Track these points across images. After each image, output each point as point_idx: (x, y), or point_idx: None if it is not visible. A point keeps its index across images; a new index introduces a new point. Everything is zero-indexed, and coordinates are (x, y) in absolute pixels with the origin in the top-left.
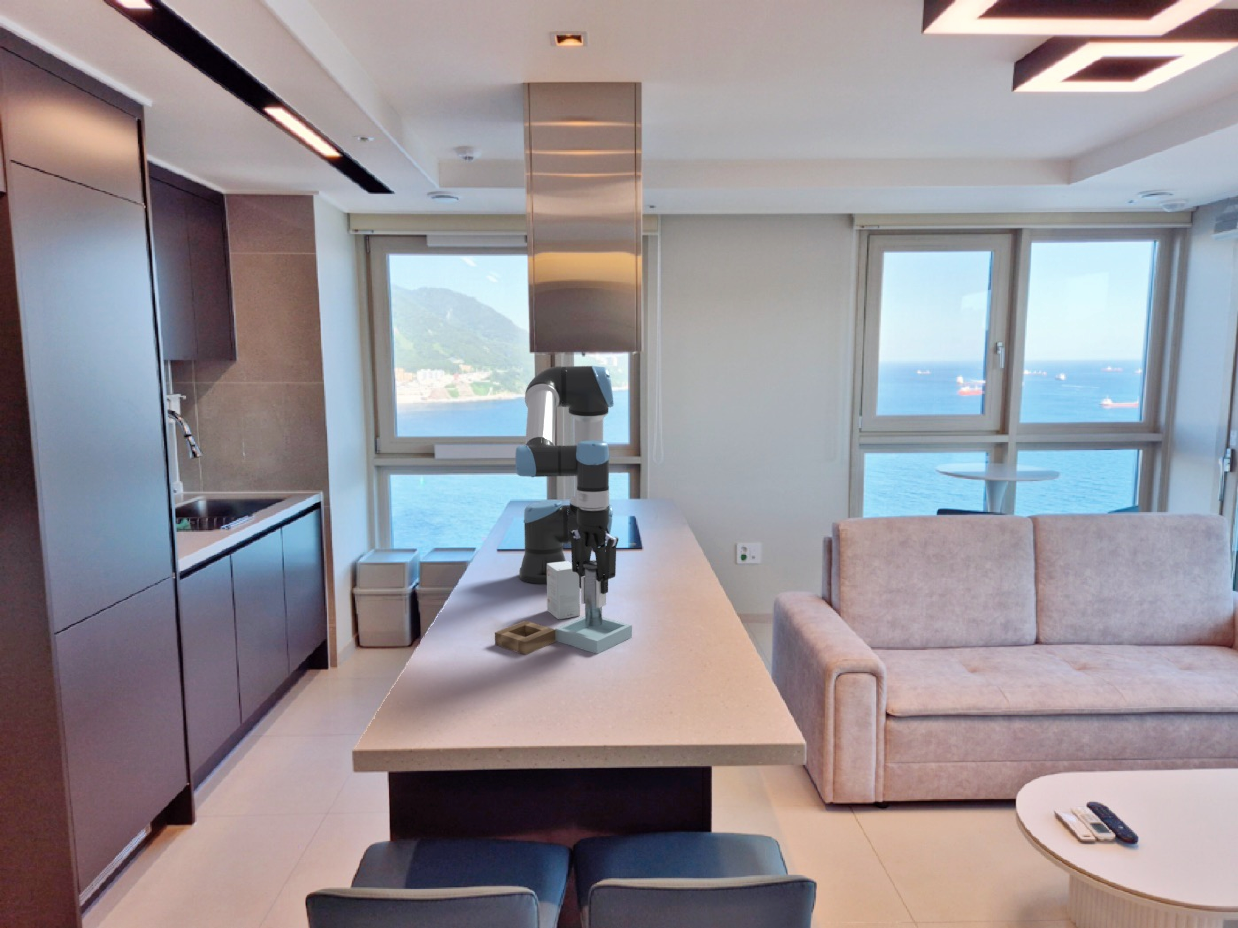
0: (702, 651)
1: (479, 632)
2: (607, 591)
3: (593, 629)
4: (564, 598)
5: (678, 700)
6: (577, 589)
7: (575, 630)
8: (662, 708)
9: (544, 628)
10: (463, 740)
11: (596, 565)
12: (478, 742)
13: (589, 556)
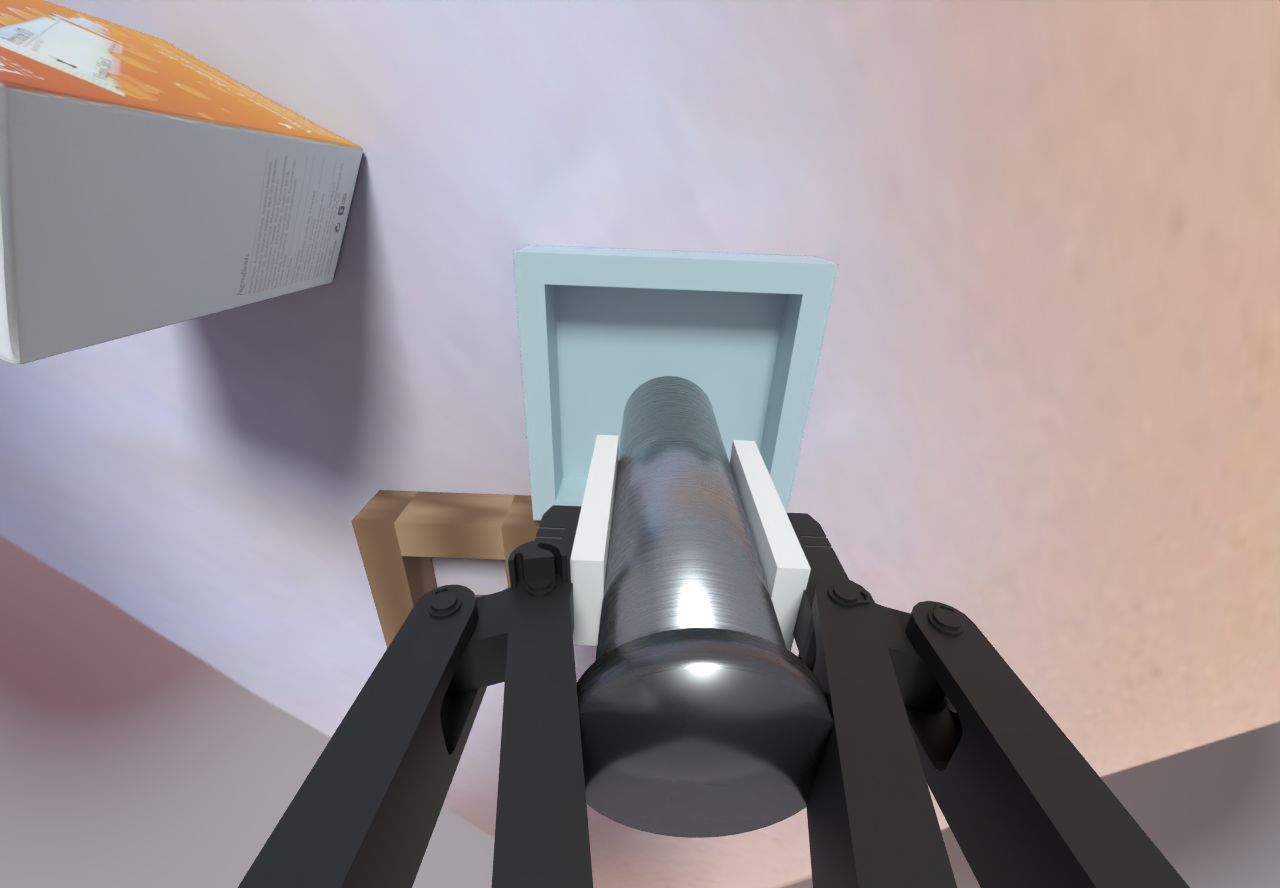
0: (1247, 202)
1: (262, 576)
2: (813, 525)
3: (603, 317)
4: (260, 260)
5: (1170, 619)
6: (232, 149)
7: (557, 400)
8: (1127, 668)
9: (497, 542)
10: (764, 879)
11: (796, 800)
12: (792, 874)
13: (584, 805)
